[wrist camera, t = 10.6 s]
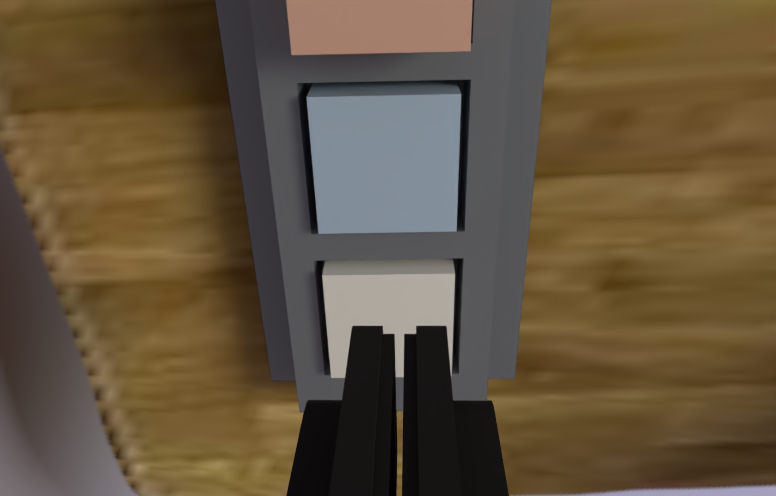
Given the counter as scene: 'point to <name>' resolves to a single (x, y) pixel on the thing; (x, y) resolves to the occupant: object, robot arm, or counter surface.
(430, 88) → the key
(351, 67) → the keypad housing
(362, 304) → the key
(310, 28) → the key
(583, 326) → the counter surface
